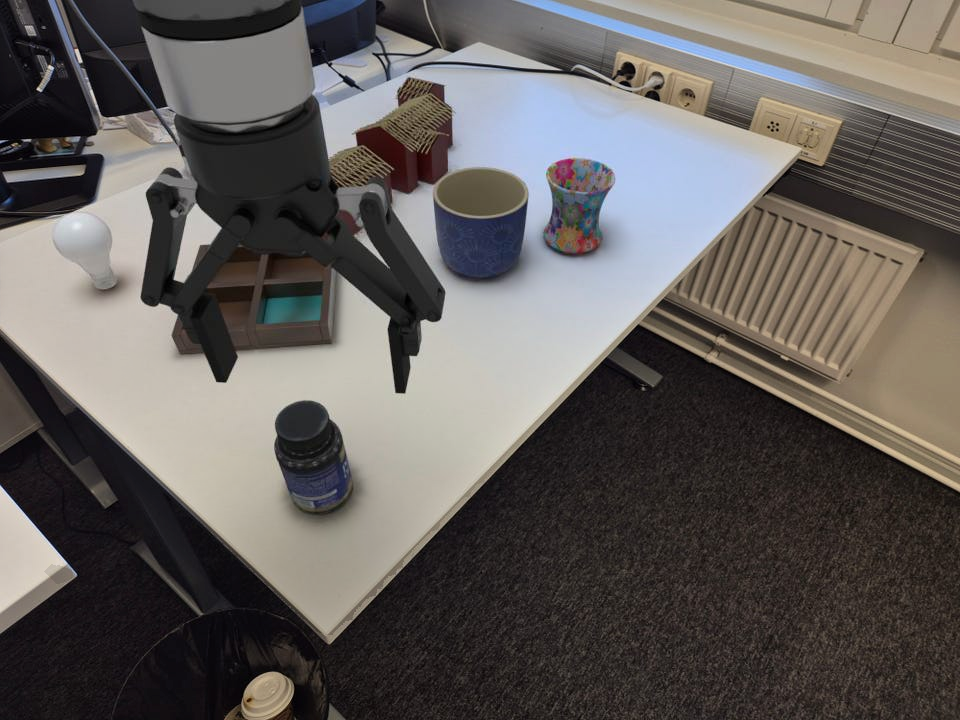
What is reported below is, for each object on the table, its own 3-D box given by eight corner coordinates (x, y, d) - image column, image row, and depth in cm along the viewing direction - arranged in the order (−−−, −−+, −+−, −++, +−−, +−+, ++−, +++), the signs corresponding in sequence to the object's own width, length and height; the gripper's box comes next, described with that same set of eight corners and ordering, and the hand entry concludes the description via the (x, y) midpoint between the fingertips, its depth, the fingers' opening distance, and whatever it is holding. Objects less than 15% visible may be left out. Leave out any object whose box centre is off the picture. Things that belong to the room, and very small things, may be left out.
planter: (506, 227, 96) (509, 160, 88) (537, 277, 88) (543, 207, 80) (426, 242, 93) (421, 174, 86) (450, 294, 85) (448, 225, 77)
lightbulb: (73, 288, 85) (32, 217, 77) (118, 266, 89) (84, 196, 81) (97, 309, 83) (57, 237, 75) (143, 285, 86) (109, 214, 78)
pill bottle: (364, 497, 64) (349, 427, 56) (306, 528, 61) (282, 460, 53) (337, 454, 67) (319, 383, 59) (281, 482, 65) (255, 412, 57)
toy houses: (357, 251, 92) (347, 187, 84) (247, 211, 98) (229, 150, 91) (501, 124, 119) (503, 69, 112) (408, 101, 126) (404, 47, 119)
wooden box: (179, 354, 77) (171, 335, 75) (206, 263, 89) (199, 244, 87) (331, 343, 79) (327, 324, 76) (337, 255, 91) (334, 236, 89)
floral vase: (575, 267, 90) (585, 201, 82) (527, 239, 94) (532, 173, 87) (627, 233, 95) (641, 168, 88) (579, 208, 100) (588, 144, 92)
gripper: (485, 81, 36) (481, 349, 51) (53, 63, 37) (174, 331, 52) (475, 145, 31) (473, 423, 46) (-28, 123, 32) (133, 402, 47)
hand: (314, 375), depth 49 cm, fingers open, 13 cm apart
